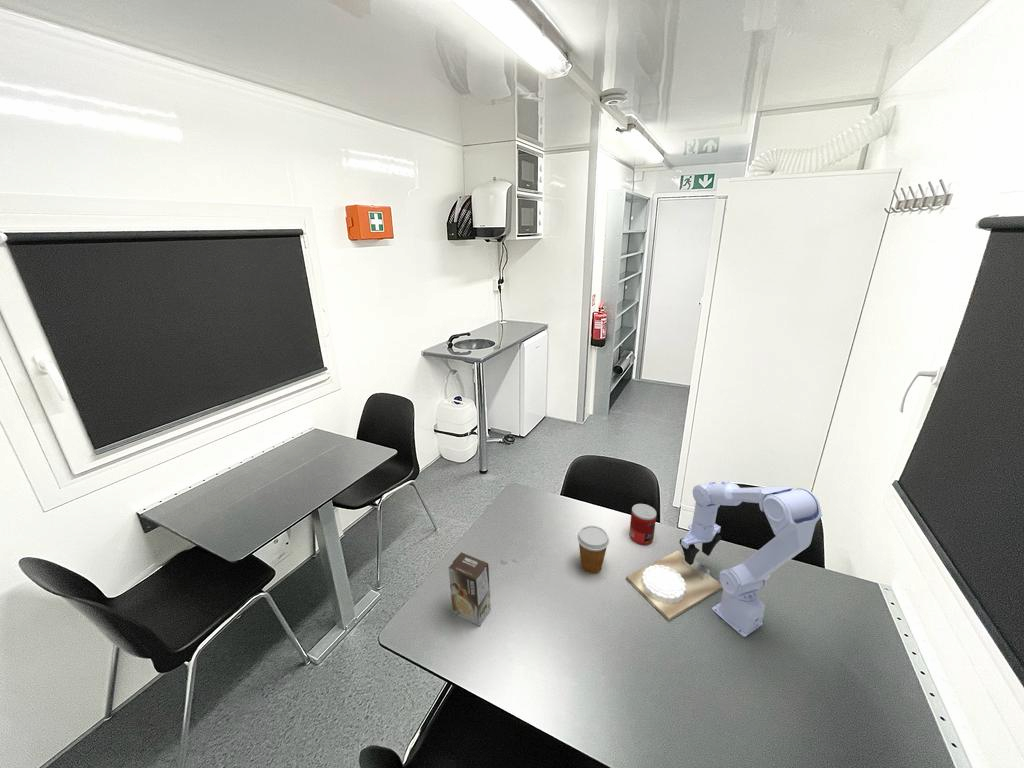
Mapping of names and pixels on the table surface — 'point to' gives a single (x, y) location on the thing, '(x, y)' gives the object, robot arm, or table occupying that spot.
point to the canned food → (642, 524)
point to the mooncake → (663, 584)
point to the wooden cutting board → (694, 577)
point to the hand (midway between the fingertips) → (697, 558)
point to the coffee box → (470, 588)
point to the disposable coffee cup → (592, 548)
